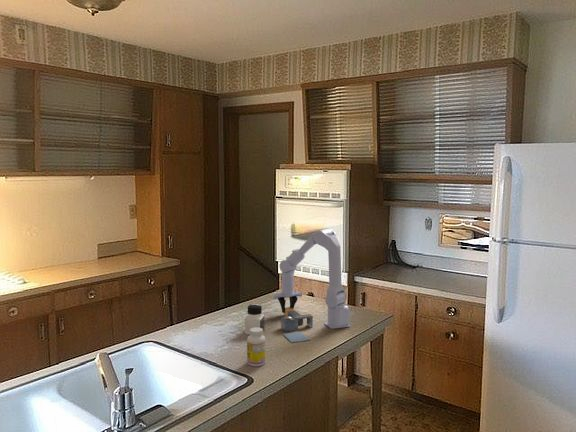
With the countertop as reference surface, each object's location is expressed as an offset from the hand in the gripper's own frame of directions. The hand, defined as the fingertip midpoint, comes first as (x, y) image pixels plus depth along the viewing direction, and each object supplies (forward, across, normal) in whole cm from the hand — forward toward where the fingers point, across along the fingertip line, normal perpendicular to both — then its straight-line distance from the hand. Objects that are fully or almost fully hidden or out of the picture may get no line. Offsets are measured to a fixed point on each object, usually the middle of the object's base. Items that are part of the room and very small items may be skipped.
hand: (287, 311), depth 233 cm
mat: (+1, +8, +30) cm, 30 cm away
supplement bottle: (+2, +31, +48) cm, 58 cm away
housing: (+1, +3, +19) cm, 19 cm away
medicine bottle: (+2, +22, +18) cm, 28 cm away
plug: (+1, 0, +8) cm, 8 cm away
